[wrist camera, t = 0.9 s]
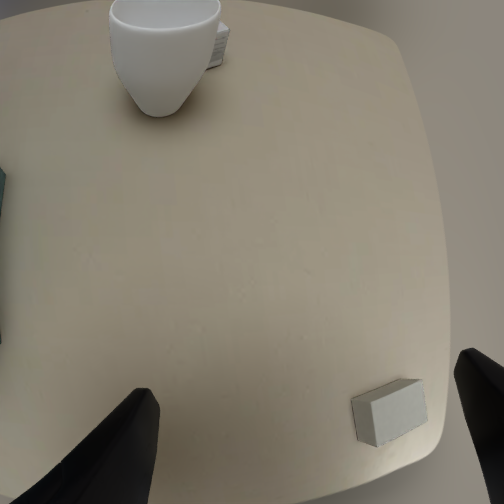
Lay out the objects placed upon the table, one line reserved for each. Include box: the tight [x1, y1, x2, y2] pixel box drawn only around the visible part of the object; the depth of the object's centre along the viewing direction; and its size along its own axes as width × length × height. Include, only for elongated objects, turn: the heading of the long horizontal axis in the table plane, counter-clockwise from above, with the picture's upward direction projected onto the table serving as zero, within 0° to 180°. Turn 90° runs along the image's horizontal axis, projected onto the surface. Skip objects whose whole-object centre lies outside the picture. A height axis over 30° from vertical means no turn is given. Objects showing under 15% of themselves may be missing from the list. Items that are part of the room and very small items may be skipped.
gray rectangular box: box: [351, 379, 427, 447], centre depth 23 cm, size 4×6×3 cm
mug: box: [109, 0, 221, 117], centre depth 23 cm, size 12×8×11 cm
